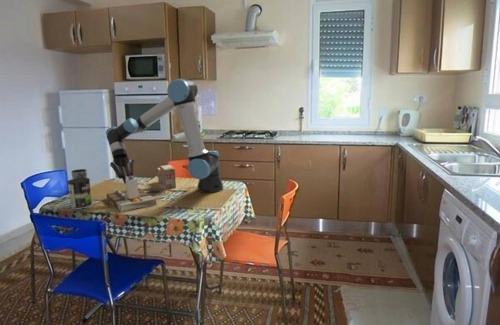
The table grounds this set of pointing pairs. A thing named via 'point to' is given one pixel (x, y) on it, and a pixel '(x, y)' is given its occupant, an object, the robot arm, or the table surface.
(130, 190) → the pale grey bottle
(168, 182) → the printed cardboard box
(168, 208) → the table surface
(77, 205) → the coffee can
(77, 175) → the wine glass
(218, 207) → the table surface
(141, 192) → the wooden tray
